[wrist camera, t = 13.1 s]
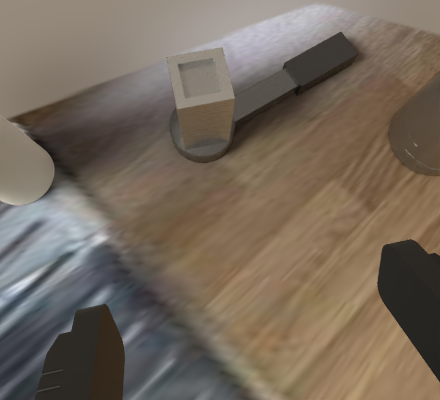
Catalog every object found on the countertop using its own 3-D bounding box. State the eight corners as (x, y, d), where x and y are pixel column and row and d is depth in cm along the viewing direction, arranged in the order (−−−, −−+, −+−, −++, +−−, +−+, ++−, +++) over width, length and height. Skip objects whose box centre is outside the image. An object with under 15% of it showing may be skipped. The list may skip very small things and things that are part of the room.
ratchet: (192, 174, 41) (189, 157, 36) (160, 124, 42) (153, 101, 37) (359, 76, 44) (380, 47, 39) (326, 32, 46) (341, -1, 40)
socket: (176, 109, 40) (166, 57, 31) (219, 101, 40) (222, 47, 31) (185, 150, 39) (177, 109, 30) (229, 141, 39) (235, 98, 30)
